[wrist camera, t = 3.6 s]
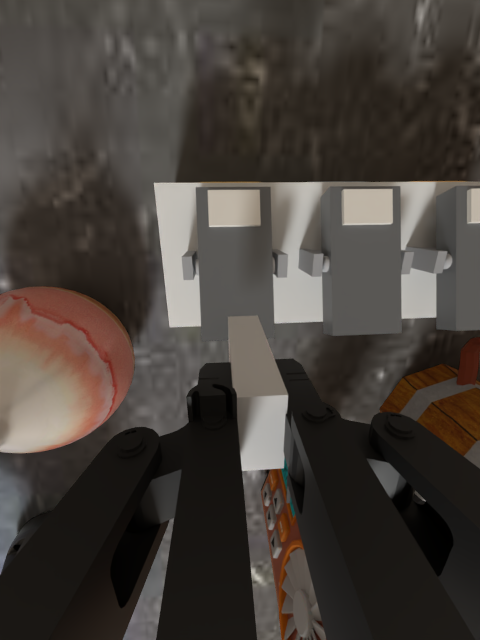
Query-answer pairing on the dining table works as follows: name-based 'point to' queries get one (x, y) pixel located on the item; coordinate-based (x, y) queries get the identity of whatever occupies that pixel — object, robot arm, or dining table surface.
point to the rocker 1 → (234, 258)
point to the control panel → (289, 563)
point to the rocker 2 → (361, 260)
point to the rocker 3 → (458, 259)
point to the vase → (58, 367)
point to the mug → (445, 401)
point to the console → (299, 247)
